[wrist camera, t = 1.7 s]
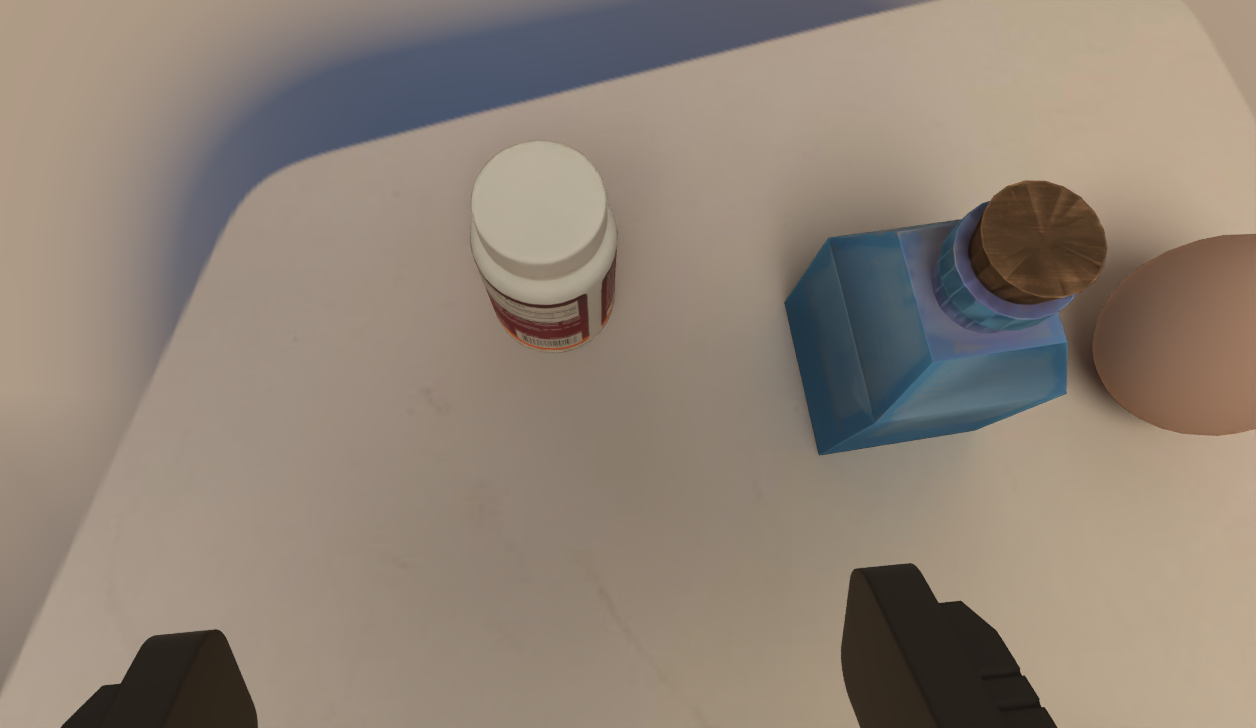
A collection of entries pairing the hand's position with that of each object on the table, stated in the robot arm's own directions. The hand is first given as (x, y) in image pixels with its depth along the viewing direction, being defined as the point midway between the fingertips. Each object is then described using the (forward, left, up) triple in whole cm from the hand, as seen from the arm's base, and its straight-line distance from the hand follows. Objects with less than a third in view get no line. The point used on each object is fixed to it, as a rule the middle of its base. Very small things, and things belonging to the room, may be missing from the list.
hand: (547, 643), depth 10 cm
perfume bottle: (+10, +11, -19) cm, 24 cm away
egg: (+20, +13, -19) cm, 30 cm away
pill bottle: (-4, +11, -19) cm, 22 cm away
